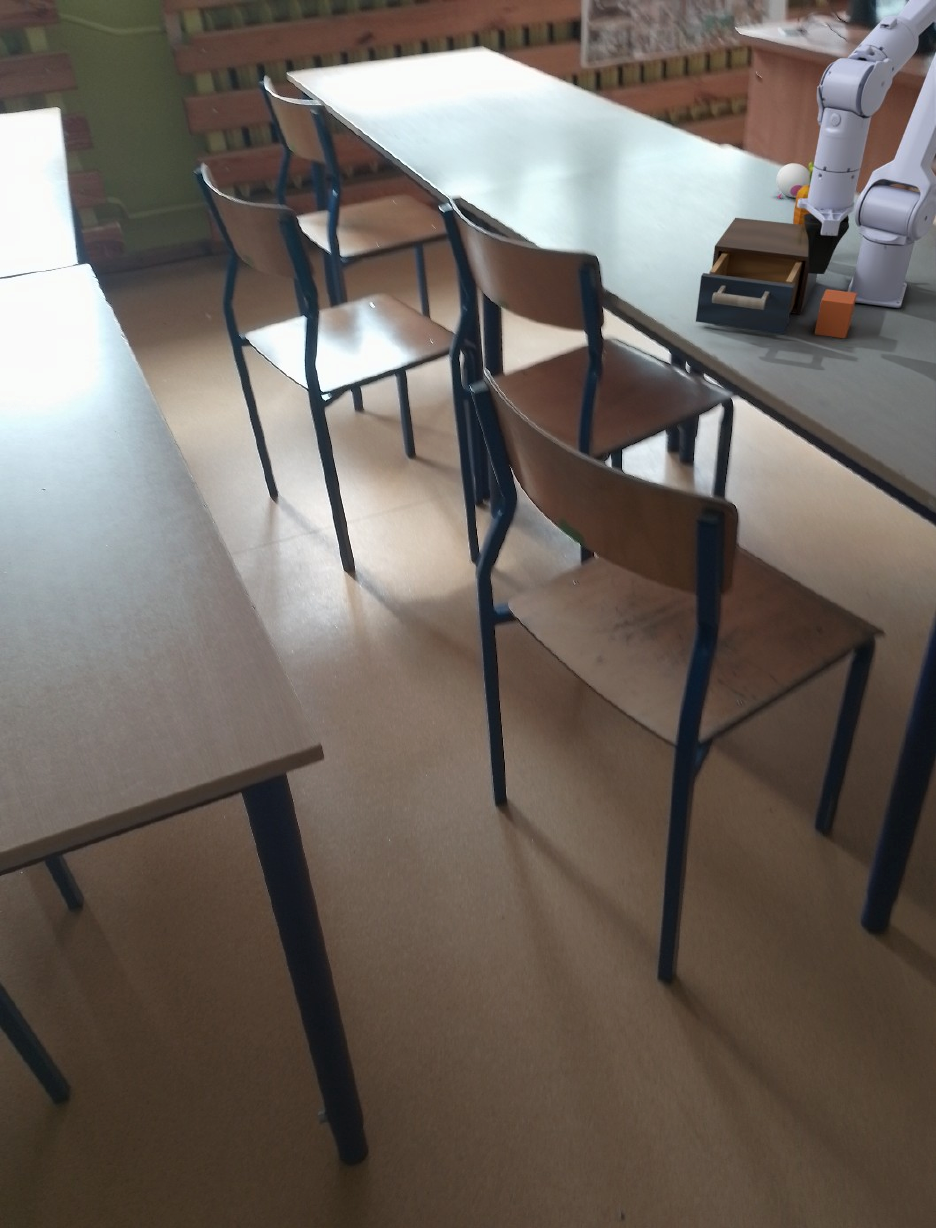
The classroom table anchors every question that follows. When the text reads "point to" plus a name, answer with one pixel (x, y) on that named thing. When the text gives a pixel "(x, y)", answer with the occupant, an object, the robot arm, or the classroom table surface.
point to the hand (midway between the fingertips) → (816, 272)
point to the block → (835, 313)
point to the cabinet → (770, 247)
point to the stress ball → (792, 179)
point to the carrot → (802, 194)
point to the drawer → (749, 292)
